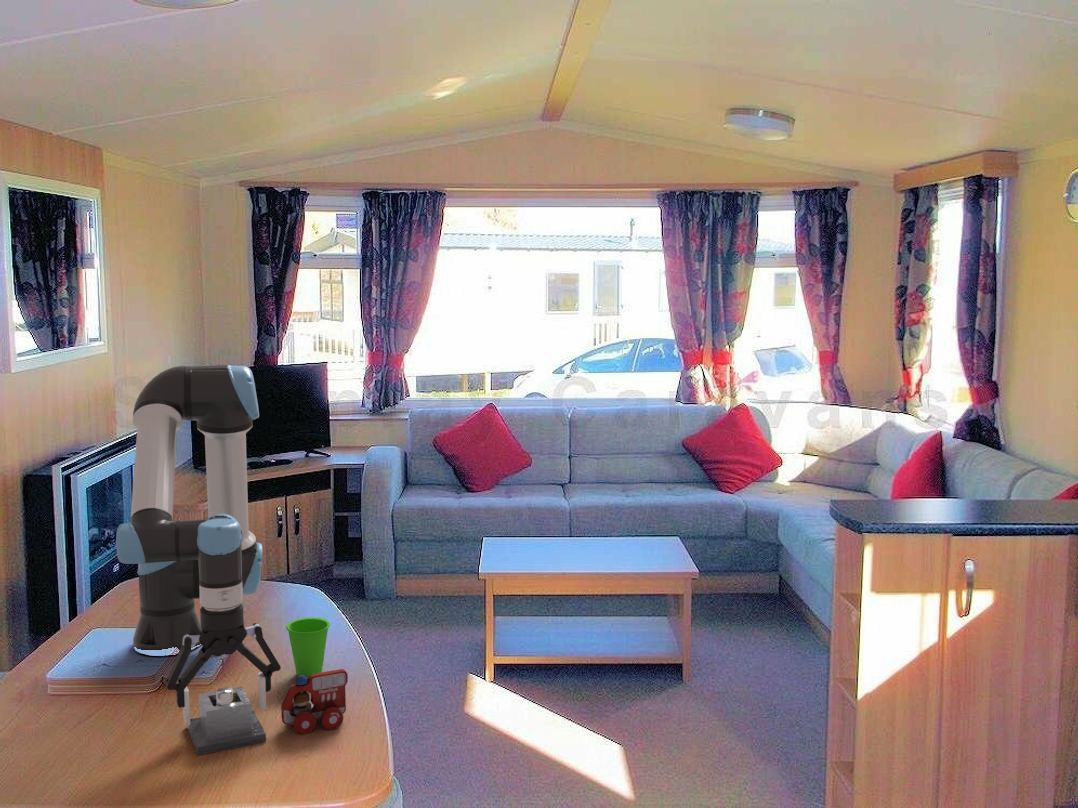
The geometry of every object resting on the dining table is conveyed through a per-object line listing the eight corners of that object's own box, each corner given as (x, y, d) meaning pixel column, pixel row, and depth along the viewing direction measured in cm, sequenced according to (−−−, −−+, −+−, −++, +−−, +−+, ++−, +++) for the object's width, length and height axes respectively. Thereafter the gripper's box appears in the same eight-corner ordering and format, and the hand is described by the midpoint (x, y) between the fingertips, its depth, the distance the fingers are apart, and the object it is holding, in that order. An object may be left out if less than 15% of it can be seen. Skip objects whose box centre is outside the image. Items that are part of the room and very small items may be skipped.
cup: (320, 685, 211) (319, 634, 209) (279, 680, 213) (278, 630, 211) (337, 668, 220) (336, 619, 218) (298, 664, 221) (297, 615, 220)
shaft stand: (186, 727, 191) (185, 684, 190) (251, 714, 197) (250, 673, 196) (197, 755, 181) (196, 710, 180) (266, 741, 187) (264, 697, 185)
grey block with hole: (199, 722, 190) (198, 694, 190) (243, 713, 194) (242, 686, 193) (207, 740, 183) (206, 711, 183) (252, 731, 187) (251, 702, 186)
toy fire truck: (279, 722, 194) (277, 670, 193) (343, 711, 199) (343, 661, 197) (284, 738, 188) (283, 684, 186) (351, 727, 193) (350, 674, 191)
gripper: (151, 622, 176) (156, 737, 179) (295, 601, 188) (297, 710, 191) (146, 608, 183) (151, 720, 186) (285, 589, 194) (287, 694, 197)
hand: (225, 715), depth 188 cm, fingers open, 13 cm apart
